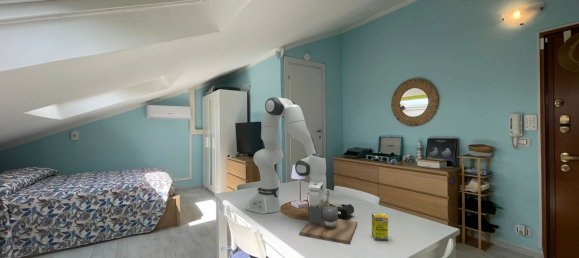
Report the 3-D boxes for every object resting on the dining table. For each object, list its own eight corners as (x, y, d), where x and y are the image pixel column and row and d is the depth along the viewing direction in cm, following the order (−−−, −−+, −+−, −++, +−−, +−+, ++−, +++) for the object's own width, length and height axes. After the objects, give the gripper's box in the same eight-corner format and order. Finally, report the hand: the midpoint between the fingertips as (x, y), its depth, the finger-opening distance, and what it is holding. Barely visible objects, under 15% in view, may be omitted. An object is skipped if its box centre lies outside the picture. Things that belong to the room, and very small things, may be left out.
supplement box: (375, 240, 113) (375, 217, 113) (371, 235, 119) (371, 212, 119) (388, 241, 113) (388, 217, 113) (384, 235, 119) (384, 212, 119)
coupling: (339, 223, 128) (339, 207, 128) (335, 229, 121) (335, 212, 120) (311, 218, 134) (311, 203, 134) (306, 224, 127) (306, 208, 126)
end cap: (347, 221, 136) (347, 209, 136) (335, 218, 141) (335, 207, 141) (354, 216, 145) (354, 204, 144) (343, 213, 149) (343, 202, 149)
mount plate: (299, 235, 120) (299, 223, 120) (314, 218, 142) (314, 208, 142) (349, 244, 110) (349, 232, 110) (357, 224, 132) (357, 214, 132)
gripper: (316, 179, 145) (317, 202, 145) (307, 187, 126) (307, 214, 126) (327, 180, 143) (327, 204, 143) (319, 188, 123) (319, 216, 124)
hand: (318, 209), depth 134 cm, fingers closed
